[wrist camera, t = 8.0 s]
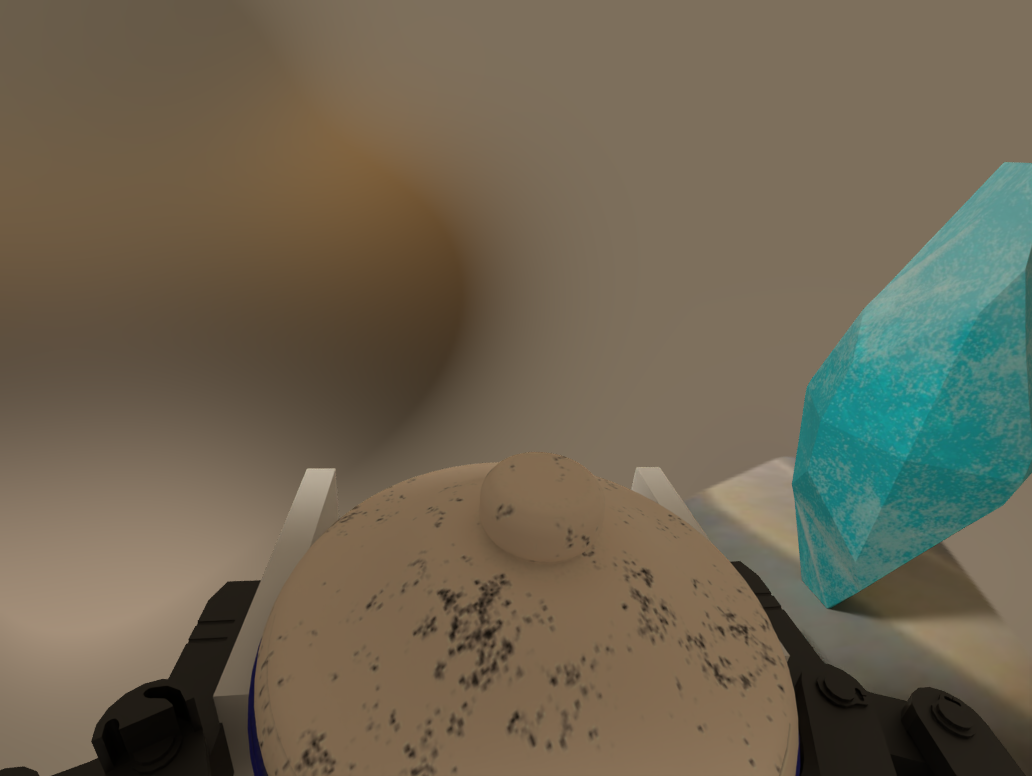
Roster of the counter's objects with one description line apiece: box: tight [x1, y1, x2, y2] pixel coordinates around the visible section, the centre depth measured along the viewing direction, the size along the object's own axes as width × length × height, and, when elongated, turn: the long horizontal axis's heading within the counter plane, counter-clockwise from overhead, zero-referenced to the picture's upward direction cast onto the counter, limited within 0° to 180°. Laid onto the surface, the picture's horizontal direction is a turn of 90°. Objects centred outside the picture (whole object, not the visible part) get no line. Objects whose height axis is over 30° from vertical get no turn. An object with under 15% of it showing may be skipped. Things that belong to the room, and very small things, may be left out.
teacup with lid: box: [247, 452, 800, 776], centre depth 12 cm, size 12×9×12 cm
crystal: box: [792, 162, 1032, 608], centre depth 33 cm, size 12×14×30 cm
